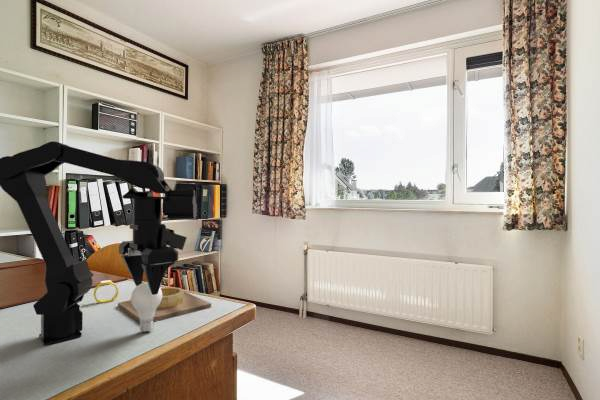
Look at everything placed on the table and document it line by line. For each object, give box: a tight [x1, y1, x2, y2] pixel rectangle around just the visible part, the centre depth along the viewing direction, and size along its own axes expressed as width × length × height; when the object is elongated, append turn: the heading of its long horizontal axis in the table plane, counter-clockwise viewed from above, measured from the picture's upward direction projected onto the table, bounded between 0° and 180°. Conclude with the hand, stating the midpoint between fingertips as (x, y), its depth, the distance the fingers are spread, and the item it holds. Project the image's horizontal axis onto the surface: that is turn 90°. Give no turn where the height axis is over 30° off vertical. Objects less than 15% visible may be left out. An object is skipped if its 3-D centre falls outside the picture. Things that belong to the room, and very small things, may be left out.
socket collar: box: [157, 286, 185, 309], centre depth 90 cm, size 10×10×3 cm
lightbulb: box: [130, 281, 162, 333], centre depth 73 cm, size 6×6×11 cm
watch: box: [93, 279, 119, 304], centre depth 94 cm, size 6×3×6 cm, turn 127°
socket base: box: [117, 291, 212, 323], centre depth 90 cm, size 18×18×1 cm
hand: (146, 289), depth 73 cm, fingers open, 9 cm apart
